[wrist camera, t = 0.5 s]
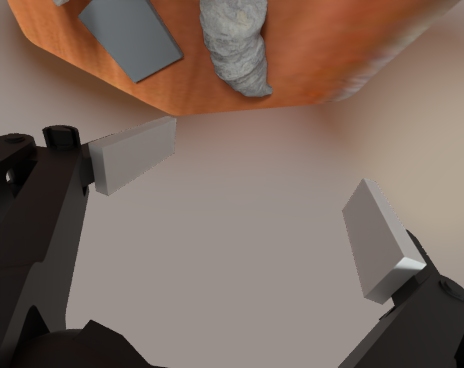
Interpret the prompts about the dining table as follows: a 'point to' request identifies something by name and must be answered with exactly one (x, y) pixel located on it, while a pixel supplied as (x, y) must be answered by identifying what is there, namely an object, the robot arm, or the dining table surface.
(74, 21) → the dining table surface
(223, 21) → the seashell
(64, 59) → the dining table surface
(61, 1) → the holder frame
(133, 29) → the slate mat
